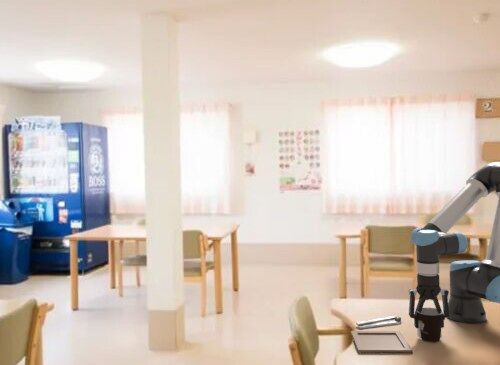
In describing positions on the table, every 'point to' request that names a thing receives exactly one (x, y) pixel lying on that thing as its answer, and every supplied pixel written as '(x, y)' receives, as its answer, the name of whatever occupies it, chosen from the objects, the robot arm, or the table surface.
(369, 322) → the tongs
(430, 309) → the coffee mug
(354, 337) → the tray
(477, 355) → the table surface
